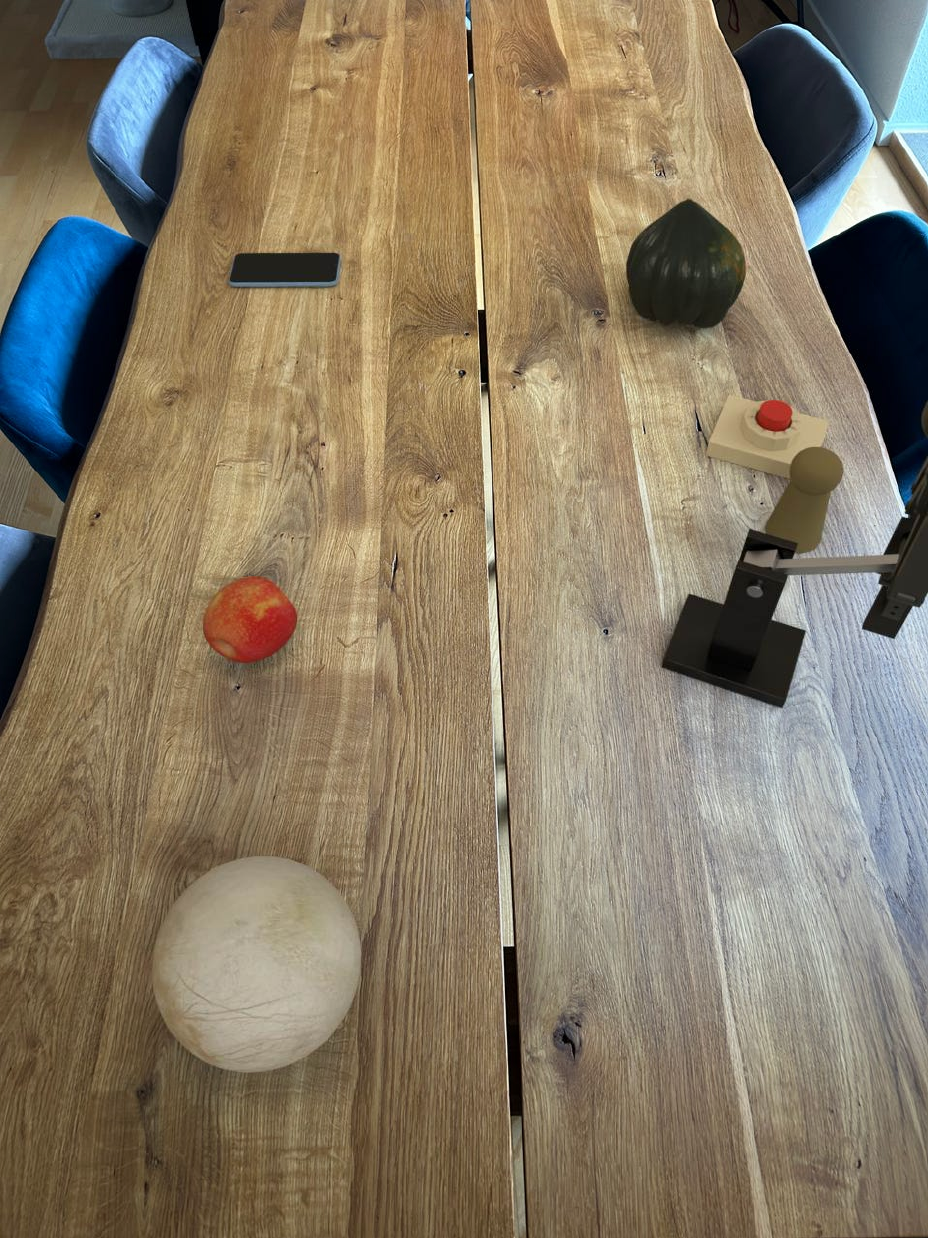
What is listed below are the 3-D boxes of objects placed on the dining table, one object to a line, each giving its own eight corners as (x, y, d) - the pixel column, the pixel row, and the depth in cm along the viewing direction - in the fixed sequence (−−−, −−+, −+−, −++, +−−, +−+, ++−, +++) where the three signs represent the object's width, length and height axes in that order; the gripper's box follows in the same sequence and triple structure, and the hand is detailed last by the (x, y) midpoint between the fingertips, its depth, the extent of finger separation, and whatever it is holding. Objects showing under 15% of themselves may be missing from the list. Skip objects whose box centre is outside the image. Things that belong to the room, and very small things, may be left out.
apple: (313, 643, 101) (302, 593, 95) (246, 693, 98) (231, 645, 91) (263, 600, 105) (250, 548, 98) (197, 646, 101) (179, 596, 95)
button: (791, 416, 116) (795, 404, 115) (784, 435, 114) (788, 423, 113) (760, 407, 117) (764, 396, 116) (753, 427, 115) (756, 415, 114)
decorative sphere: (405, 1016, 79) (394, 948, 67) (233, 1138, 74) (188, 1089, 62) (309, 868, 87) (283, 784, 75) (147, 970, 82) (92, 897, 70)
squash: (709, 333, 123) (754, 207, 119) (596, 301, 128) (637, 179, 124) (727, 350, 136) (769, 237, 132) (625, 320, 141) (662, 210, 137)
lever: (923, 547, 85) (918, 526, 84) (912, 598, 82) (907, 577, 80) (758, 555, 93) (751, 536, 92) (742, 602, 90) (735, 583, 89)
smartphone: (234, 251, 142) (341, 251, 142) (235, 257, 142) (341, 256, 142) (226, 282, 137) (337, 281, 137) (227, 288, 138) (337, 287, 138)
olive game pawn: (822, 517, 112) (851, 442, 103) (821, 557, 108) (852, 483, 99) (766, 508, 113) (791, 433, 104) (763, 547, 109) (789, 473, 100)
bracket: (802, 639, 102) (846, 540, 90) (782, 708, 97) (825, 613, 85) (686, 602, 104) (713, 501, 93) (660, 667, 99) (686, 570, 88)
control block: (824, 435, 120) (834, 408, 117) (808, 484, 115) (818, 458, 112) (725, 408, 123) (731, 381, 120) (705, 455, 118) (711, 429, 115)
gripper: (957, 300, 75) (861, 515, 93) (918, 464, 65) (819, 671, 83) (1064, 324, 73) (945, 539, 92) (1043, 498, 63) (913, 702, 81)
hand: (885, 601), depth 87 cm, fingers closed on lever, 6 cm apart
